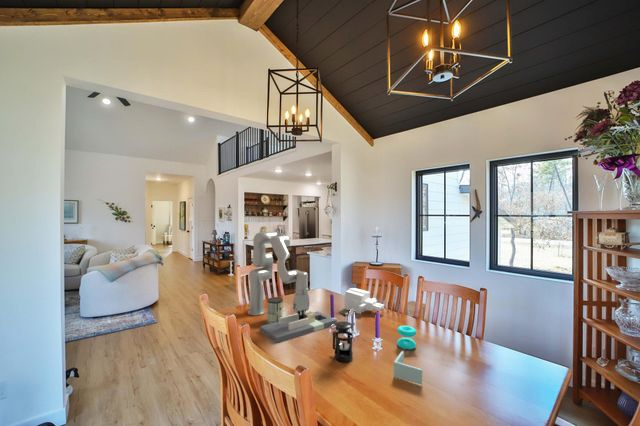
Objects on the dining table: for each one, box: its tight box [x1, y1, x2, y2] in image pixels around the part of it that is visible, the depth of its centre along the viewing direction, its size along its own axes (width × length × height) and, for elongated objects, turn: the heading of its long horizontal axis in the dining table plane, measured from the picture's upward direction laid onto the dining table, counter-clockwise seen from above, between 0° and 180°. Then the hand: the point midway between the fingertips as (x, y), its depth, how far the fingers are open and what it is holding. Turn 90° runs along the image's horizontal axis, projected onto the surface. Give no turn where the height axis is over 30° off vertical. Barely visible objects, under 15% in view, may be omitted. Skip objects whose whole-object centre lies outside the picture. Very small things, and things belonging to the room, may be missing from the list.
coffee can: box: [266, 296, 284, 324], centre depth 191 cm, size 10×10×14 cm
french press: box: [332, 311, 354, 364], centre depth 143 cm, size 12×9×23 cm
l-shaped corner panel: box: [393, 350, 423, 386], centre depth 128 cm, size 12×12×8 cm
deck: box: [259, 311, 338, 344], centre depth 180 cm, size 20×45×7 cm, turn 129°
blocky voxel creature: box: [343, 287, 385, 315], centre depth 212 cm, size 15×25×28 cm
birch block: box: [304, 310, 315, 323], centre depth 183 cm, size 6×6×5 cm
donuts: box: [396, 325, 417, 350], centre depth 156 cm, size 10×10×10 cm
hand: (301, 320), depth 180 cm, fingers closed
